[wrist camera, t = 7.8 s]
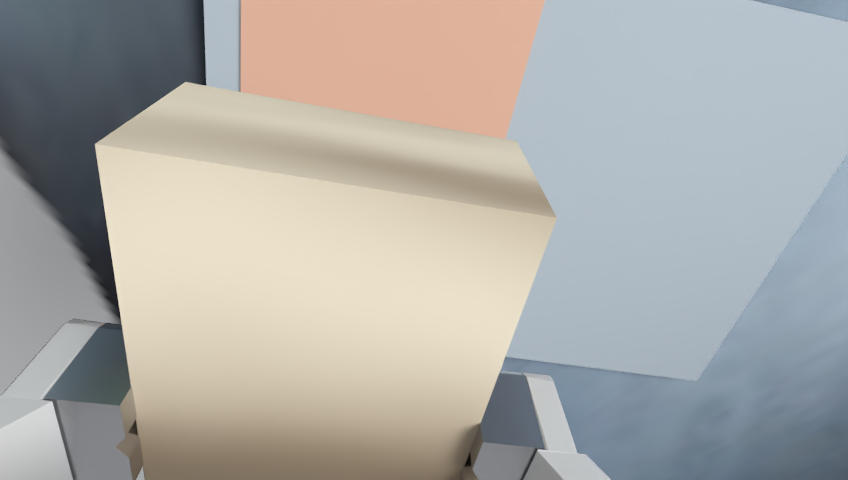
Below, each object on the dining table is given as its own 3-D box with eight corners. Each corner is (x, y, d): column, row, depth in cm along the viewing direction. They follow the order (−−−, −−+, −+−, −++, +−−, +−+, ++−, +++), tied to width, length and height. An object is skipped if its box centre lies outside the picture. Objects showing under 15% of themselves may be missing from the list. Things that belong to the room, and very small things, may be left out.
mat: (906, 34, 15) (926, 39, 14) (690, 370, 22) (698, 383, 22) (208, -122, 13) (198, -124, 12) (218, 309, 20) (212, 321, 19)
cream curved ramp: (185, 82, 7) (89, 147, 5) (517, 141, 8) (559, 223, 6) (204, 465, 12) (157, 587, 10) (413, 483, 13) (415, 603, 10)
